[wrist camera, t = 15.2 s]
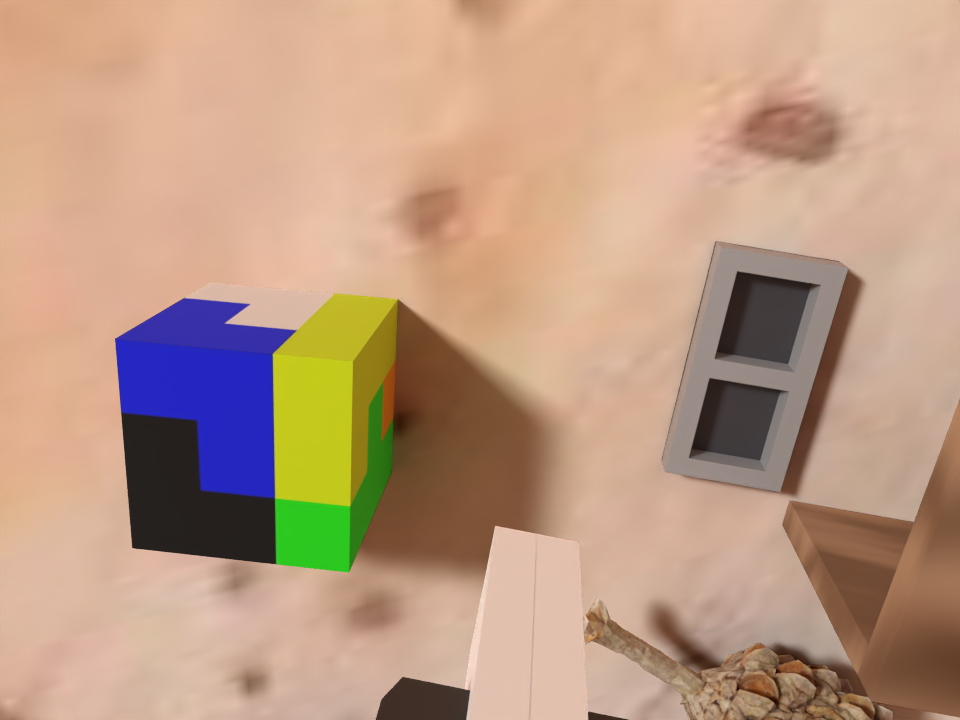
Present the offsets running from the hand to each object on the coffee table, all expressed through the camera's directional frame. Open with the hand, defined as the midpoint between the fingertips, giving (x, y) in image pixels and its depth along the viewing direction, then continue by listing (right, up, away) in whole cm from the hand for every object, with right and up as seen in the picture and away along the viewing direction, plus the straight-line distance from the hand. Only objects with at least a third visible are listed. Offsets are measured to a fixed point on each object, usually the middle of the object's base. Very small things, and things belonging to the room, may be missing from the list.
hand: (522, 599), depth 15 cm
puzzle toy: (-10, +3, +30) cm, 32 cm away
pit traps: (+13, +4, +28) cm, 31 cm away
